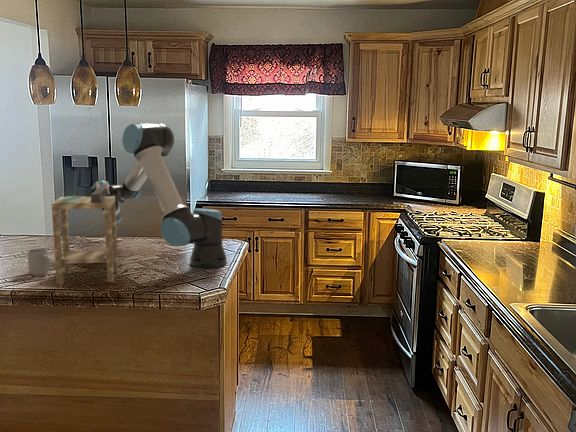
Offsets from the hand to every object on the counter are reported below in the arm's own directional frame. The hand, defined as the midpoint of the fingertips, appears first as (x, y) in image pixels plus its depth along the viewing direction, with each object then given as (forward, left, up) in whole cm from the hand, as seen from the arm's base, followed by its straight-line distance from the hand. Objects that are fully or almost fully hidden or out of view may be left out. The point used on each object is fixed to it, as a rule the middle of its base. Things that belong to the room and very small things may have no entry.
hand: (101, 184), depth 226 cm
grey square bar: (0, +4, -4) cm, 6 cm away
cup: (+24, +2, -34) cm, 42 cm away
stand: (+5, +10, -34) cm, 36 cm away
